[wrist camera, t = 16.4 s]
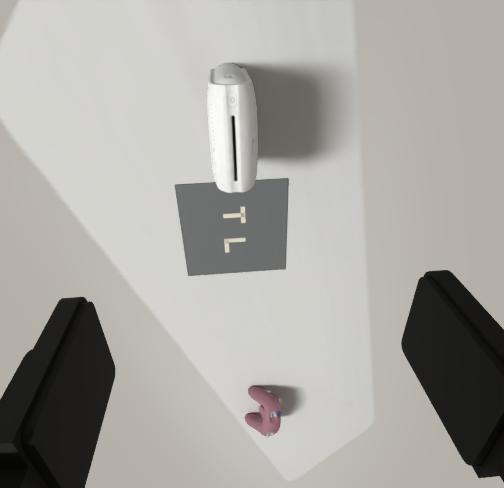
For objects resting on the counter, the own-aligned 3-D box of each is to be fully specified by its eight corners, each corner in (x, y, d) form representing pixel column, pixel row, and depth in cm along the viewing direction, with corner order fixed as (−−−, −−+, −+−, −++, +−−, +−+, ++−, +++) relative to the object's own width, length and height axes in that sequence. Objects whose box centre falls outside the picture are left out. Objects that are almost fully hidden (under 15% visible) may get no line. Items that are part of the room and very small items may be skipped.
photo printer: (206, 62, 38) (203, 81, 27) (247, 60, 38) (260, 79, 27) (213, 158, 43) (213, 204, 33) (249, 156, 43) (260, 202, 33)
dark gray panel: (174, 184, 45) (174, 185, 44) (287, 177, 45) (288, 178, 45) (188, 275, 52) (188, 276, 52) (285, 268, 53) (285, 269, 53)
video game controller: (262, 408, 73) (282, 438, 68) (242, 418, 71) (261, 450, 66) (267, 376, 68) (289, 406, 63) (246, 386, 66) (267, 418, 61)
